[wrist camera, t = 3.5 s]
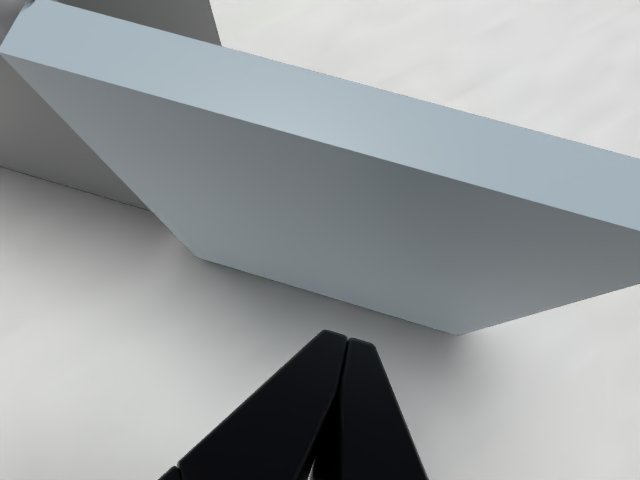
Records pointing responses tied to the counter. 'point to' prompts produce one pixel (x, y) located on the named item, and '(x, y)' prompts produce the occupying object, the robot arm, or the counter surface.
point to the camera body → (54, 133)
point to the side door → (335, 174)
